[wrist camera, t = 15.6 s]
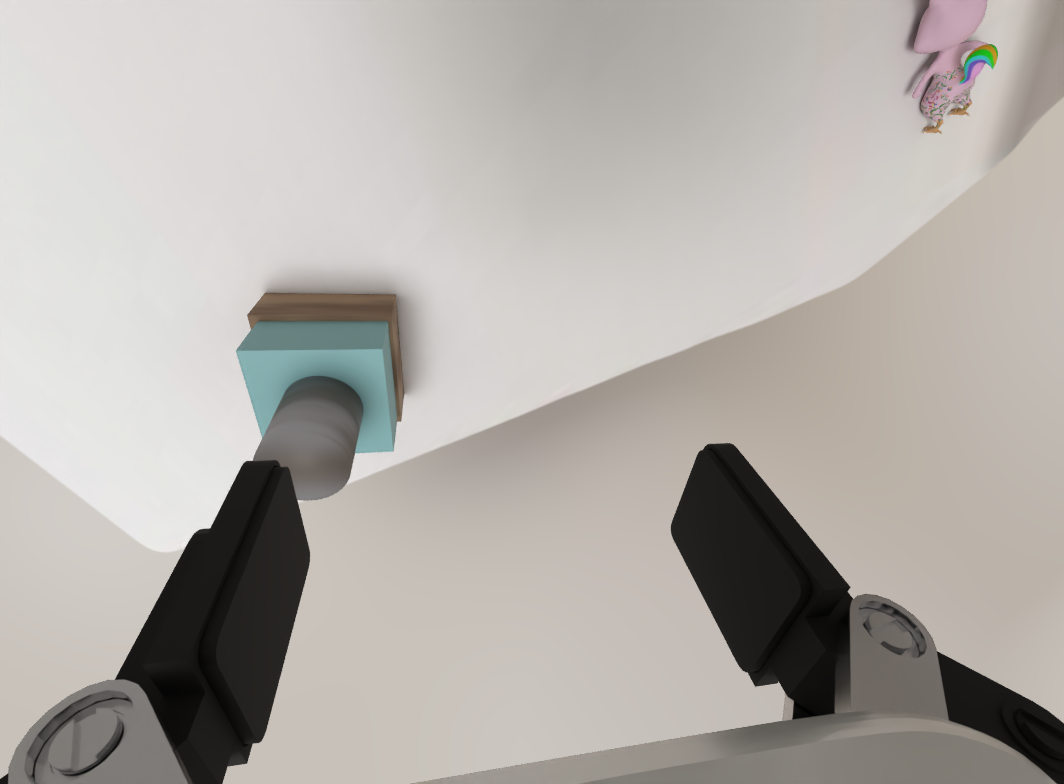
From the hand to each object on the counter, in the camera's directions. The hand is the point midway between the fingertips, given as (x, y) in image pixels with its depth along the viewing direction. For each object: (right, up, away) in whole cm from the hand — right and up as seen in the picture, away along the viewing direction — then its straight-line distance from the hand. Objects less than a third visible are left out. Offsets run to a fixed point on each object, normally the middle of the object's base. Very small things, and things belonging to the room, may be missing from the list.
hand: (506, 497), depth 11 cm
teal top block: (-17, +4, +30) cm, 35 cm away
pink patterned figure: (+33, +32, +28) cm, 54 cm away
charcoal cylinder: (-16, +1, +26) cm, 31 cm away
